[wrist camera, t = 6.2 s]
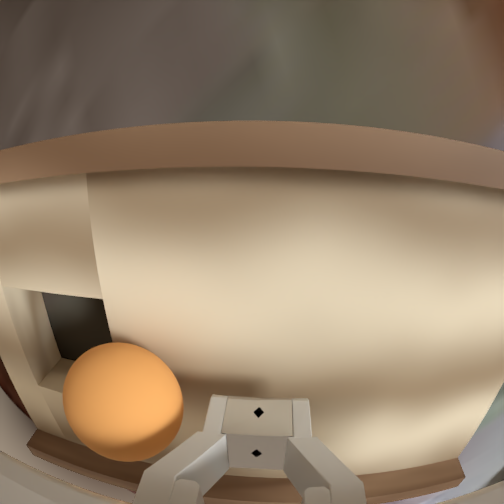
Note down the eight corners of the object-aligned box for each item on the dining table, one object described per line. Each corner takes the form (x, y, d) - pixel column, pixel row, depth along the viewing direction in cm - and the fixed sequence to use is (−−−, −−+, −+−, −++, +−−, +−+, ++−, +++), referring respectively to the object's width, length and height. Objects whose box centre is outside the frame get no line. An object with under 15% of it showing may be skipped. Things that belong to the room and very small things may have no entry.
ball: (94, 424, 6) (207, 351, 9) (27, 349, 8) (122, 308, 11) (131, 504, 7) (211, 437, 10) (63, 435, 9) (137, 390, 12)
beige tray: (-9, 157, 11) (-71, 172, 7) (525, 162, 9) (589, 179, 6) (60, 413, 16) (33, 455, 13) (438, 437, 15) (457, 486, 11)
